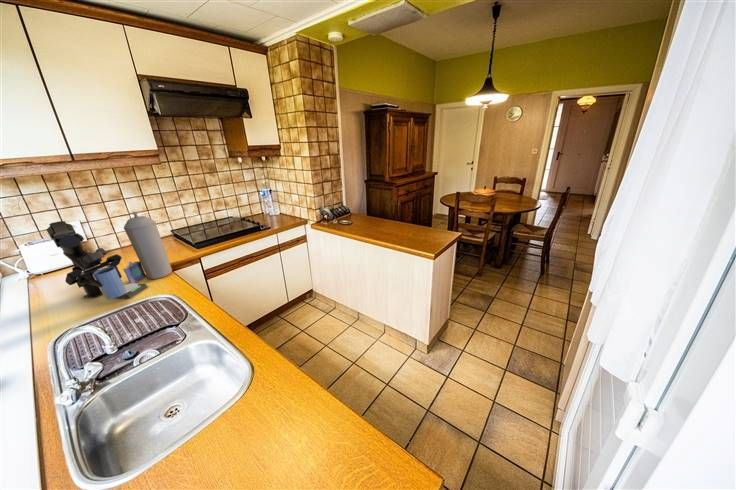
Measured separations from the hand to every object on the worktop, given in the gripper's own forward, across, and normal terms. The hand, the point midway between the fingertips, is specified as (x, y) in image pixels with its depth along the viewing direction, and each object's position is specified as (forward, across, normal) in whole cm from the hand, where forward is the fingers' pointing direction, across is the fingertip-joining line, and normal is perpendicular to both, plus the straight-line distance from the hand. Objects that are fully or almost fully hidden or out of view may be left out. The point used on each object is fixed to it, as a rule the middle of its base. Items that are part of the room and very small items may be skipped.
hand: (111, 281), depth 114 cm
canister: (+2, +26, +15) cm, 29 cm away
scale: (+3, +8, +14) cm, 16 cm away
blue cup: (+4, 0, +6) cm, 7 cm away
